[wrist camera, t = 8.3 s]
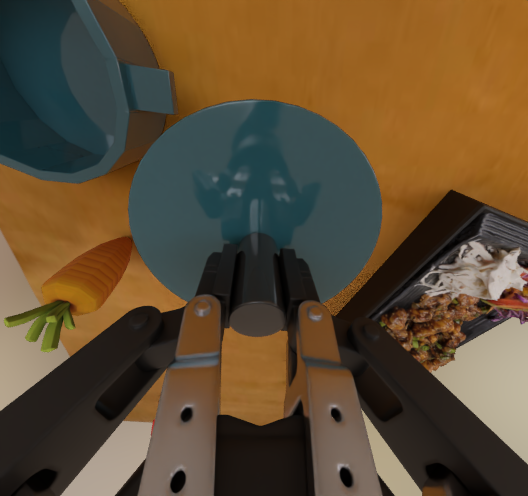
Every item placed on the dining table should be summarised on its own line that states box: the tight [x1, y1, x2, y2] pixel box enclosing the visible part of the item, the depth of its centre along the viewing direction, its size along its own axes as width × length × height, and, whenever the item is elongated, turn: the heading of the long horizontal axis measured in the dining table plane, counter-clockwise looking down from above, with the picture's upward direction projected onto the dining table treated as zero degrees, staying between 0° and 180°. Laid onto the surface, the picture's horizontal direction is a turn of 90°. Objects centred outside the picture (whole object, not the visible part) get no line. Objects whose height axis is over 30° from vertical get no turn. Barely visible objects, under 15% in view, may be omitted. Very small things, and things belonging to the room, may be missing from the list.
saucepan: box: [0, 0, 178, 184], centre depth 15 cm, size 14×19×7 cm
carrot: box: [4, 237, 132, 352], centre depth 21 cm, size 5×5×15 cm
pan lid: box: [128, 99, 382, 337], centre depth 10 cm, size 15×15×6 cm
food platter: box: [336, 190, 528, 373], centre depth 35 cm, size 45×25×10 cm, turn 161°
